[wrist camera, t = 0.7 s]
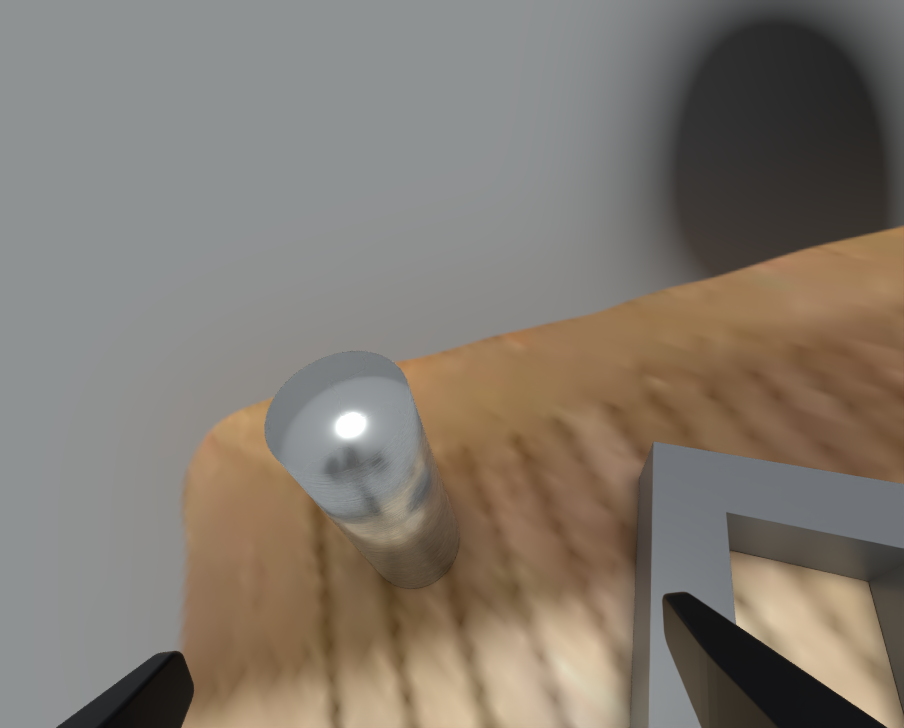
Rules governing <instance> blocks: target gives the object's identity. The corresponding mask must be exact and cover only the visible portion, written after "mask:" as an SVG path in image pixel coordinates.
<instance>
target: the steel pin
mask: <svg viewBox="0 0 904 728" xmlns="http://www.w3.org/2000/svg"><path fill="white" fill-rule="evenodd" d="M265 438H266V442H267V445H268V447H269V449H270V451H271V452H272V454H273V455H274V456H275V457H276V459H277V460H278V461H279V462H280V463H281V464H282V465H283V466H284V467H285V469H286V470H287V471H288V472H289V473H290V474H291V475H292V476H293V477H294V479H295V480H296V481H297V482H298V483H299V484H300V485H301V486H302V487H303V489H304V490H305V491H306V492H307V493H308V494H309V495H310V496H311V497H312V499H313V500H314V501H315V502H316V503H317V504H318V505H319V506H320V507H321V509H322V510H323V511H324V512H325V513H326V514H327V515H328V516H329V517H330V519H331V520H332V521H333V522H334V523H335V524H336V525H337V526H338V527H339V529H340V530H341V531H342V532H343V533H344V534H345V535H346V536H347V537H348V539H349V540H350V541H351V542H352V543H353V544H354V545H355V546H356V547H357V549H358V550H359V551H360V552H361V553H362V554H363V555H364V556H365V557H366V558H367V560H368V561H369V562H370V563H371V564H372V565H373V566H374V567H375V568H376V570H377V571H378V572H379V573H380V574H381V575H382V576H383V577H384V578H385V579H386V580H387V581H388V582H390V583H392V584H393V585H396V586H398V587H402V588H408V589H414V588H421V587H425V586H427V585H430V584H432V583H434V582H435V581H437V580H438V579H440V578H441V577H442V576H443V575H444V574H445V573H446V572H447V571H448V570H449V568H450V567H451V565H452V564H453V562H454V560H455V558H456V555H457V552H458V548H459V540H460V538H459V529H458V525H457V522H456V519H455V516H454V513H453V510H452V508H451V505H450V502H449V499H448V496H447V493H446V490H445V488H444V485H443V482H442V479H441V476H440V473H439V470H438V468H437V465H436V462H435V459H434V456H433V453H432V450H431V448H430V445H429V442H428V439H427V436H426V433H425V430H424V428H423V425H422V422H421V419H420V416H419V413H418V410H417V408H416V405H415V402H414V399H413V396H412V393H411V390H410V388H409V385H408V382H407V379H406V377H405V375H404V373H403V372H402V371H401V369H400V368H399V367H398V366H397V365H396V364H395V363H394V362H392V361H391V360H389V359H388V358H386V357H384V356H382V355H379V354H376V353H371V352H364V351H350V352H342V353H337V354H333V355H330V356H327V357H324V358H321V359H319V360H317V361H315V362H313V363H311V364H309V365H308V366H306V367H304V368H303V369H301V370H300V371H298V372H297V373H296V374H294V375H293V376H292V377H291V378H290V379H289V380H288V381H287V382H286V383H285V384H284V385H283V386H282V387H281V389H280V390H279V391H278V393H277V394H276V395H275V397H274V399H273V401H272V402H271V405H270V407H269V409H268V412H267V415H266V420H265Z"/></svg>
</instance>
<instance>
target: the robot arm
mask: <svg viewBox="0 0 904 728" xmlns="http://www.w3.org/2000/svg"><path fill="white" fill-rule="evenodd" d="M662 608H663V624H664V635H665V639H666V643H667V646H668V648H669V651H670V653H671V656H672V658H673V660H674V663H675V665H676V668H677V670H678V673H679V675H680V677H681V680H682V682H683V685H684V687H685V689H686V692H687V694H688V697H689V699H690V701H691V704H692V706H693V709H694V711H695V714H696V716H697V718H698V721H699V723H700V726H701V728H887V727H886V726H884V725H883V724H881V723H880V722H878V721H877V720H875V719H874V718H873V717H871V716H870V715H868V714H867V713H865V712H864V711H862V710H861V709H859V708H858V707H856V706H855V705H853V704H852V703H850V702H849V701H848V700H846V699H845V698H843V697H842V696H840V695H839V694H837V693H836V692H834V691H833V690H831V689H830V688H828V687H827V686H825V685H824V684H823V683H821V682H820V681H818V680H817V679H815V678H814V677H812V676H811V675H809V674H808V673H806V672H805V671H803V670H802V669H800V668H799V667H798V666H796V665H795V664H793V663H792V662H790V661H789V660H787V659H786V658H784V657H783V656H781V655H780V654H778V653H777V652H775V651H774V650H772V649H771V648H770V647H768V646H767V645H765V644H764V643H762V642H761V641H759V640H758V639H756V638H755V637H753V636H752V635H750V634H749V633H747V632H746V631H745V630H743V629H742V628H740V627H739V626H737V625H736V624H734V623H733V622H731V621H730V620H728V619H727V618H725V617H724V616H722V615H721V614H720V613H718V612H717V611H715V610H714V609H712V608H711V607H709V606H708V605H706V604H705V603H703V602H702V601H700V600H699V599H697V598H696V597H695V596H693V595H692V594H690V593H688V592H684V591H682V592H674V593H666V594H664V595H663V598H662ZM193 694H194V684H193V681H192V678H191V675H190V672H189V669H188V667H187V664H186V661H185V658H184V656H183V654H182V653H181V652H179V651H171V652H163V653H158V654H156V655H154V656H152V657H151V658H150V659H148V660H147V661H146V662H144V663H143V664H142V665H140V666H139V667H138V668H136V669H135V670H133V671H132V672H131V673H129V674H128V675H127V676H125V677H124V678H123V679H121V680H120V681H119V682H117V683H116V684H114V685H113V686H112V687H111V688H109V689H108V690H106V691H105V692H104V693H102V694H101V695H100V696H98V697H97V698H96V699H94V700H93V701H92V702H90V703H89V704H88V705H86V706H85V707H83V708H82V709H81V710H79V711H78V712H77V713H75V714H74V715H72V716H71V717H70V718H69V719H67V720H66V721H65V722H63V723H62V724H60V725H59V726H58V727H56V728H181V727H182V725H183V722H184V719H185V717H186V714H187V712H188V709H189V707H190V704H191V702H192V698H193Z"/></svg>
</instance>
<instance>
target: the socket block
mask: <svg viewBox="0 0 904 728" xmlns="http://www.w3.org/2000/svg"><path fill="white" fill-rule="evenodd" d="M729 550H733V551H737V552H742V553H746V554H750V555H755V556H759V557H764V558H768V559H772V560H777V561H781V562H786V563H790V564H795V565H799V566H803V567H808V568H812V569H817V570H821V571H825V572H830V573H834V574H839V575H843V576H848V577H852V578H856V579H861V580H865V581H869V584H870V588H871V592H872V596H873V599H874V603H875V607H876V611H877V614H878V618H879V622H880V626H881V629H882V633H883V637H884V641H885V644H886V648H887V652H888V656H889V659H890V663H891V667H892V671H893V674H894V678H895V682H896V686H897V689H898V693H899V697H900V701H901V704H902V708H903V712H904V484H900V483H894V482H888V481H882V480H876V479H871V478H865V477H859V476H853V475H847V474H841V473H835V472H829V471H824V470H818V469H812V468H806V467H800V466H794V465H788V464H782V463H776V462H771V461H765V460H759V459H753V458H747V457H741V456H735V455H729V454H724V453H718V452H712V451H706V450H700V449H694V448H688V447H682V446H676V445H671V444H665V443H659V442H653V444H652V447H651V449H650V452H649V455H648V457H647V460H646V462H645V465H644V467H643V470H642V472H641V475H640V478H639V501H638V528H637V554H636V581H635V608H634V634H633V661H632V687H631V714H630V728H701V726H700V723H699V721H698V718H697V716H696V714H695V711H694V709H693V706H692V704H691V701H690V699H689V697H688V694H687V692H686V689H685V687H684V685H683V682H682V680H681V677H680V675H679V673H678V670H677V668H676V665H675V663H674V660H673V658H672V656H671V653H670V651H669V648H668V646H667V643H666V639H665V635H664V624H663V608H662V598H663V595H664V594H666V593H674V592H682V591H684V592H688V593H690V594H692V595H693V596H695V597H696V598H697V599H699V600H700V601H702V602H703V603H705V604H706V605H708V606H709V607H711V608H712V609H714V610H715V611H717V612H718V613H720V614H721V615H722V616H724V617H725V618H727V619H728V620H730V621H731V622H733V623H734V624H736V620H735V608H734V597H733V586H732V575H731V563H730V552H729Z"/></svg>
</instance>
